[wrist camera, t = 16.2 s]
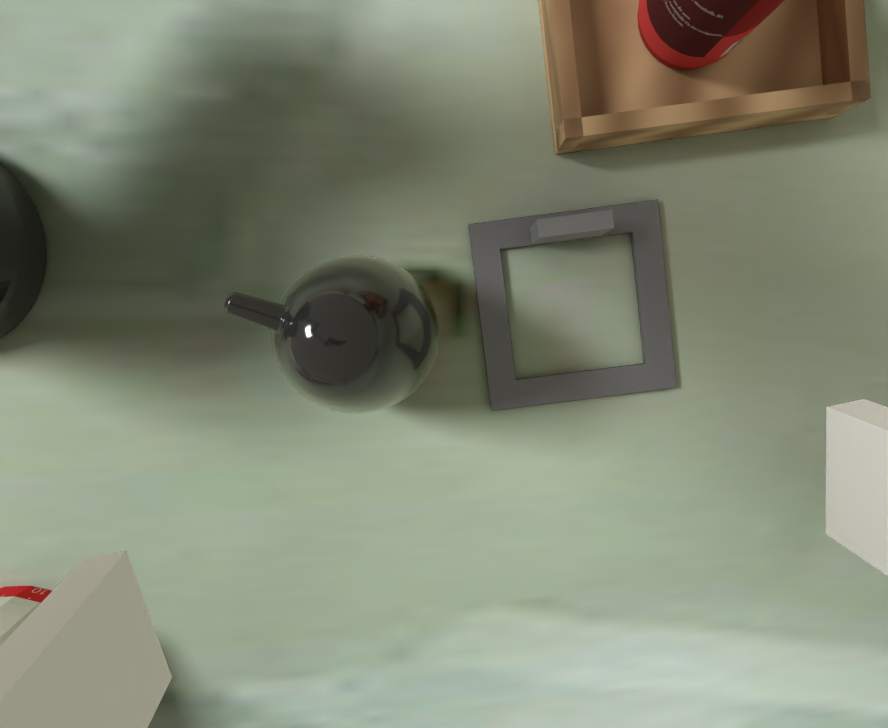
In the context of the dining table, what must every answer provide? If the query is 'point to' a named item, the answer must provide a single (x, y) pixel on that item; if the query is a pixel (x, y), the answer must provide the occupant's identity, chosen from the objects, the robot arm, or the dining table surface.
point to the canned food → (698, 28)
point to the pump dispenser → (350, 332)
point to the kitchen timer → (18, 606)
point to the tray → (697, 74)
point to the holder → (650, 296)
